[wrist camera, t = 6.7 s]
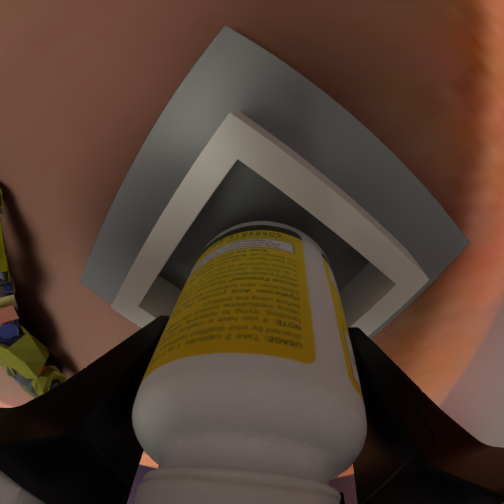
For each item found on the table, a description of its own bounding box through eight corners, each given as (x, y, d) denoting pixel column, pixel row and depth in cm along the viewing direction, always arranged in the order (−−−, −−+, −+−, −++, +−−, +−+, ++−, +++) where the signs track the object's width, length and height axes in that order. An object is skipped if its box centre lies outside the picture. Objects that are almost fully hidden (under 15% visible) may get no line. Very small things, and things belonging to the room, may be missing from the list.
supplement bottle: (171, 284, 12) (64, 510, 4) (255, 186, 10) (167, 519, 2) (269, 351, 14) (251, 566, 5) (359, 278, 12) (433, 535, 3)
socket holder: (460, 233, 13) (497, 268, 9) (285, 390, 18) (284, 435, 15) (229, 31, 10) (211, 5, 7) (88, 272, 15) (55, 307, 12)
